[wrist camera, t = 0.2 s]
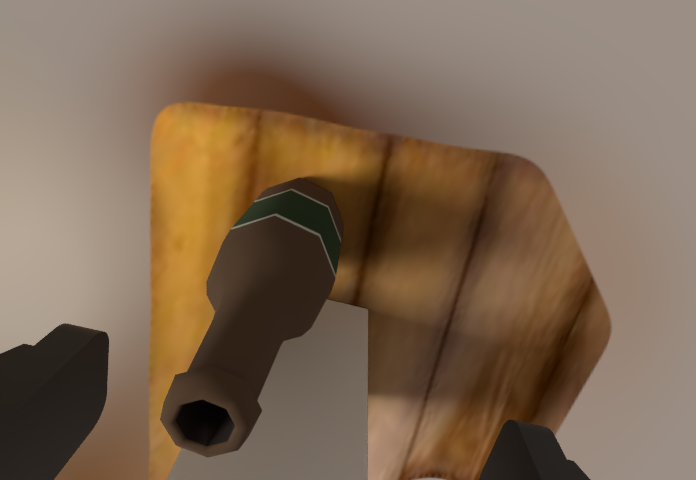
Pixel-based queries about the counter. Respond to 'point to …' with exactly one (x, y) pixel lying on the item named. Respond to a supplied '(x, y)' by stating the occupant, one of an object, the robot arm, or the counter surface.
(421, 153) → the counter surface
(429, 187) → the counter surface
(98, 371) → the robot arm
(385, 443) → the counter surface
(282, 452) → the stand
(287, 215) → the beer bottle
